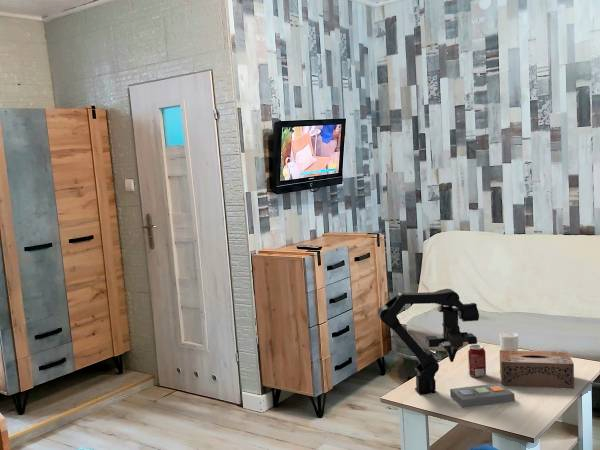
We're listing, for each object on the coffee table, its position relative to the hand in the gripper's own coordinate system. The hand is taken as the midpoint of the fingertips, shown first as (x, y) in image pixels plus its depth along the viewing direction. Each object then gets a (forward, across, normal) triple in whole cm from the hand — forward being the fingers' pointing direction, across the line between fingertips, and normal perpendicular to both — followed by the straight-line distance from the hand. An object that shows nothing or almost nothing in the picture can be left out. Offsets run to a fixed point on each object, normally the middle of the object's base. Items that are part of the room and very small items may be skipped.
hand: (451, 361), depth 233 cm
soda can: (+11, +15, +12) cm, 22 cm away
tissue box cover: (+11, +34, +2) cm, 36 cm away
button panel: (+11, +8, -11) cm, 18 cm away
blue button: (+11, +1, -12) cm, 16 cm away
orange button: (+11, +13, -11) cm, 20 cm away
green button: (+11, +7, -11) cm, 17 cm away
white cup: (+11, +36, +31) cm, 49 cm away
